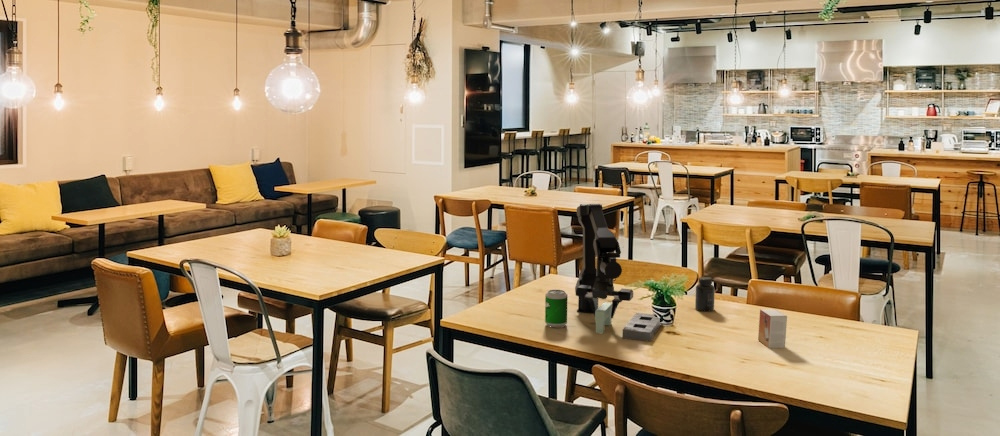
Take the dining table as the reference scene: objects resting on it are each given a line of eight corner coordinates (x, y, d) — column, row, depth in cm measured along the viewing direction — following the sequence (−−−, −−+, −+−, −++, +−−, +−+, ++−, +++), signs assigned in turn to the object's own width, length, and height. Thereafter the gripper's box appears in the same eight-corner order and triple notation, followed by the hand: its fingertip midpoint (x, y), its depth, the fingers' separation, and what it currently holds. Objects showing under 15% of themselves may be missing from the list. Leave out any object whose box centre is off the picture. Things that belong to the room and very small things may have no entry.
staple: (594, 332, 259) (595, 310, 258) (603, 323, 270) (604, 302, 269) (603, 333, 258) (604, 311, 257) (612, 323, 269) (612, 302, 268)
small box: (757, 340, 251) (759, 309, 249) (774, 340, 251) (776, 308, 250) (768, 348, 243) (770, 315, 242) (785, 347, 244) (787, 315, 242)
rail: (622, 338, 253) (622, 329, 252) (636, 320, 273) (636, 312, 272) (650, 341, 249) (650, 332, 249) (661, 323, 270) (662, 315, 269)
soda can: (570, 324, 269) (570, 290, 267) (562, 329, 262) (563, 295, 260) (549, 321, 272) (550, 288, 270) (541, 327, 265) (542, 292, 263)
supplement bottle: (712, 307, 292) (713, 276, 290) (715, 312, 285) (716, 280, 283) (693, 306, 292) (694, 275, 290) (696, 311, 286) (697, 279, 284)
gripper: (571, 274, 257) (570, 320, 259) (627, 279, 250) (625, 326, 253) (580, 268, 267) (579, 312, 270) (634, 272, 261) (632, 317, 263)
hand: (603, 317), depth 263 cm, fingers open, 5 cm apart
